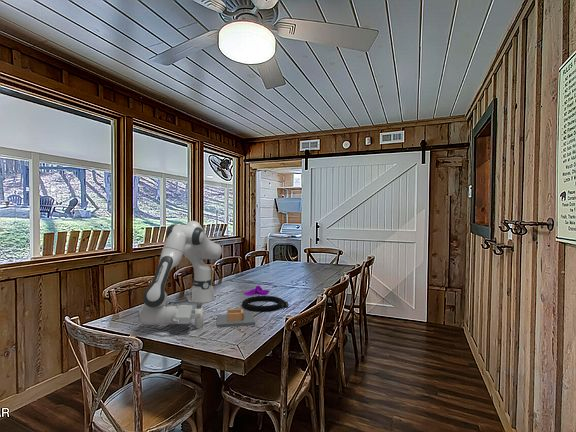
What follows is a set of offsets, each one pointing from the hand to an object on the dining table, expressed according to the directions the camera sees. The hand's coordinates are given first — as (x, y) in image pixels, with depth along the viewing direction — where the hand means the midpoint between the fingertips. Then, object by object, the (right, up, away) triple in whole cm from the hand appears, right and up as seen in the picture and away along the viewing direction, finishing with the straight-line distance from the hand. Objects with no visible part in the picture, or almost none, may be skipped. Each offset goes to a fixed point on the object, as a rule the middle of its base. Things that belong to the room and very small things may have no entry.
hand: (200, 313), depth 171 cm
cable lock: (+31, -7, +40) cm, 51 cm away
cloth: (+24, -7, +72) cm, 76 cm away
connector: (-1, -7, 0) cm, 7 cm away
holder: (+17, -7, +10) cm, 21 cm away
